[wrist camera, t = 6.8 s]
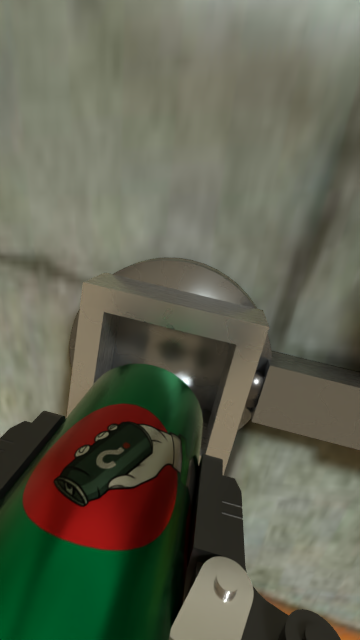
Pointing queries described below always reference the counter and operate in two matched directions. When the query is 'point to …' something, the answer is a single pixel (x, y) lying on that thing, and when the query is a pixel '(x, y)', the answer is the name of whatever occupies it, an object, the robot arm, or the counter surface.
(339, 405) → the ratchet
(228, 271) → the counter surface
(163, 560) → the soda can
